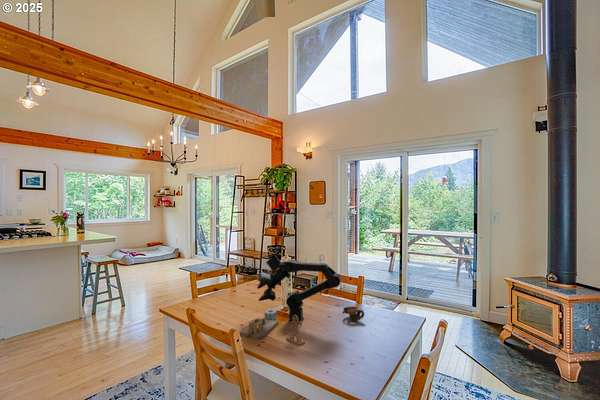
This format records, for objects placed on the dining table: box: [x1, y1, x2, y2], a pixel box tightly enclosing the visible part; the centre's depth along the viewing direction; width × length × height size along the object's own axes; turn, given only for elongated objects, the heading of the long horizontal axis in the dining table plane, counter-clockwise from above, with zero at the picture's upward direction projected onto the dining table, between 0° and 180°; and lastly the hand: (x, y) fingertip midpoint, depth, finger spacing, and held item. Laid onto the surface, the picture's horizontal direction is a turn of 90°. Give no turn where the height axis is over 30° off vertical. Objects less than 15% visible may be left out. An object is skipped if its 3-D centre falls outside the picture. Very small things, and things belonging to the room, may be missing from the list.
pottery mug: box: [342, 306, 365, 324], centre depth 154 cm, size 12×10×8 cm
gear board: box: [239, 317, 279, 341], centre depth 143 cm, size 12×18×6 cm, turn 160°
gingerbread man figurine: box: [285, 315, 306, 347], centre depth 131 cm, size 9×4×12 cm, turn 45°
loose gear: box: [264, 308, 278, 321], centre depth 156 cm, size 7×7×4 cm
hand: (258, 294), depth 160 cm, fingers open, 9 cm apart
